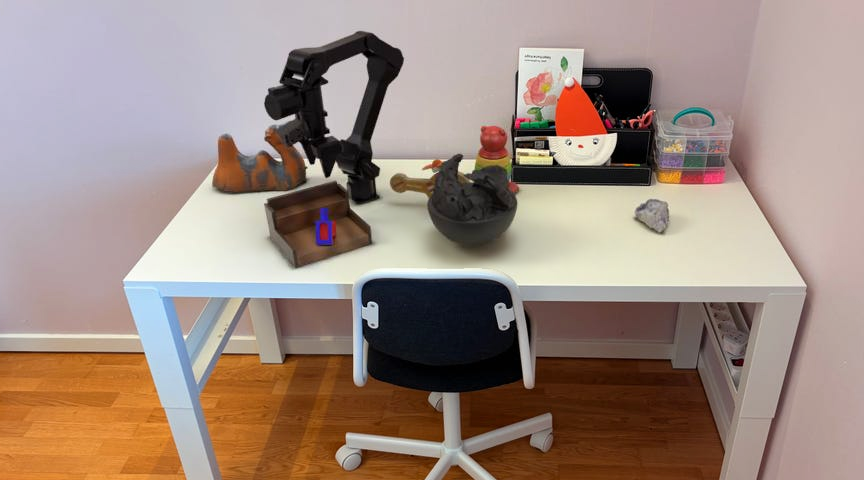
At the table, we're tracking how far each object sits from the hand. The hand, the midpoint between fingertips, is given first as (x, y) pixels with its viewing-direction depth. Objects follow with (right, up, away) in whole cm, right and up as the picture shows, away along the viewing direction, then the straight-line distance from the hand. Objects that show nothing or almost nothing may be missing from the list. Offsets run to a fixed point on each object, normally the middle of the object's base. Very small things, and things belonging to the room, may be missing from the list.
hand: (319, 170), depth 173 cm
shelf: (+1, -17, -4) cm, 17 cm away
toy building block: (+3, -17, -9) cm, 19 cm away
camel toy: (-20, -1, +22) cm, 30 cm away
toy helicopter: (+27, -8, +8) cm, 29 cm away
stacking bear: (+42, -4, +15) cm, 45 cm away
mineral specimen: (+78, -13, -1) cm, 79 cm away
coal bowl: (+36, -17, -6) cm, 40 cm away
